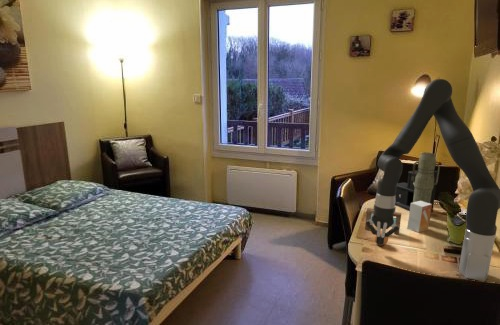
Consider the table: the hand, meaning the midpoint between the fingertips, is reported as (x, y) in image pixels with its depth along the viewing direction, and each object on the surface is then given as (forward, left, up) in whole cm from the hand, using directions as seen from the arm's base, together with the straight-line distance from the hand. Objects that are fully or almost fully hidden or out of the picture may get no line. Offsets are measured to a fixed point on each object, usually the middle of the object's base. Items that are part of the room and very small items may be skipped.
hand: (379, 244), depth 148 cm
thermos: (+48, -17, -4) cm, 51 cm away
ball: (+9, 0, -1) cm, 9 cm away
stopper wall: (+54, 0, -4) cm, 54 cm away
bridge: (+25, 0, -4) cm, 25 cm away
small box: (+35, -16, -4) cm, 39 cm away
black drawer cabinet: (+68, -13, -4) cm, 69 cm away
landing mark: (+39, 0, -4) cm, 39 cm away
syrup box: (+27, -31, -4) cm, 41 cm away
